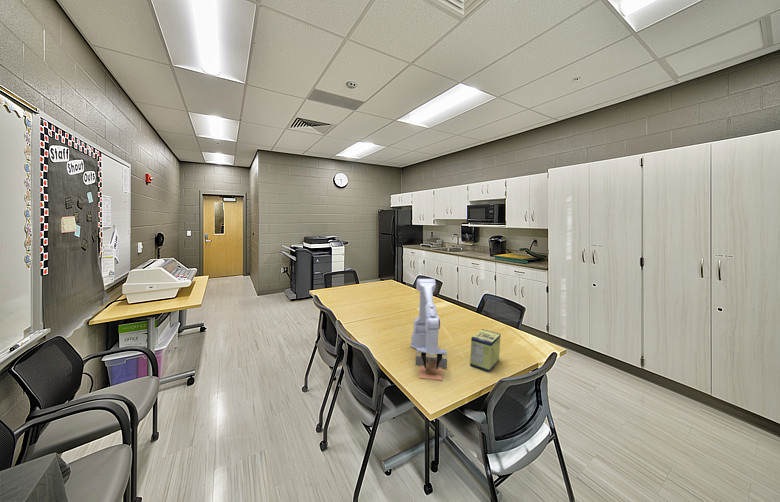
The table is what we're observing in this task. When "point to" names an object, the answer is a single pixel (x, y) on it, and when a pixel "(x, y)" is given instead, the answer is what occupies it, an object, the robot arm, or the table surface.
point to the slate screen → (420, 362)
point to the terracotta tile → (430, 376)
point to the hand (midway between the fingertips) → (431, 367)
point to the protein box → (485, 350)
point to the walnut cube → (431, 366)
